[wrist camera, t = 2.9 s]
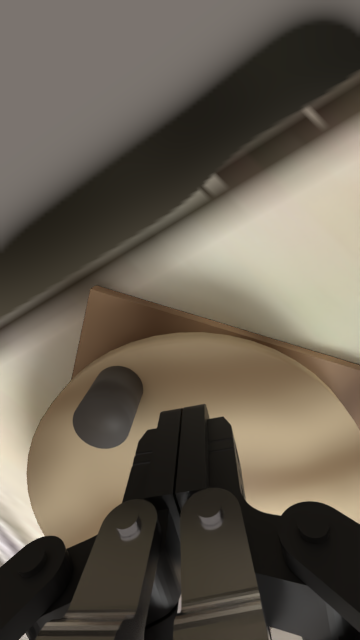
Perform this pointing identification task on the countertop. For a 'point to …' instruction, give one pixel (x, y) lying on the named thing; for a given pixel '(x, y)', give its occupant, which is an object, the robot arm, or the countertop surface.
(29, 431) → the countertop surface
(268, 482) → the handwheel
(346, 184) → the countertop surface
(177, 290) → the countertop surface
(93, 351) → the mount
